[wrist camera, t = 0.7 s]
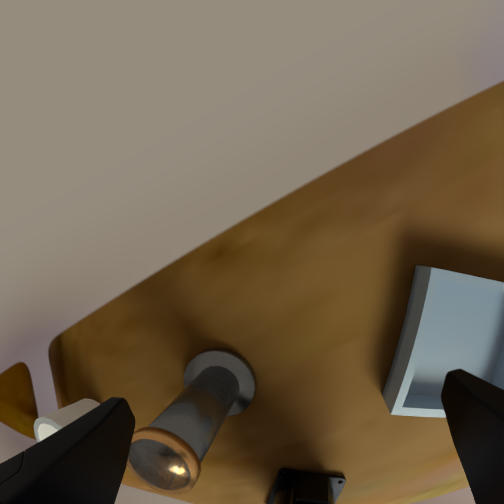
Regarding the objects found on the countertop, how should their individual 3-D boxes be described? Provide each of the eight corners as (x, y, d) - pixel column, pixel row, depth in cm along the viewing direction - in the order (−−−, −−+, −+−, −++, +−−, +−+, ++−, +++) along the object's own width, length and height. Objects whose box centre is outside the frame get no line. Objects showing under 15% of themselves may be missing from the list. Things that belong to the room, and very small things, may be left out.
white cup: (125, 453, 27) (91, 486, 20) (78, 435, 29) (42, 461, 22) (117, 402, 27) (76, 432, 20) (68, 386, 28) (26, 407, 22)
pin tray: (482, 401, 21) (499, 416, 17) (382, 395, 23) (390, 414, 19) (516, 285, 20) (538, 290, 17) (415, 264, 22) (431, 267, 19)
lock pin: (249, 418, 25) (207, 516, 13) (184, 400, 26) (111, 479, 14) (262, 357, 25) (221, 443, 12) (192, 340, 26) (107, 401, 13)
